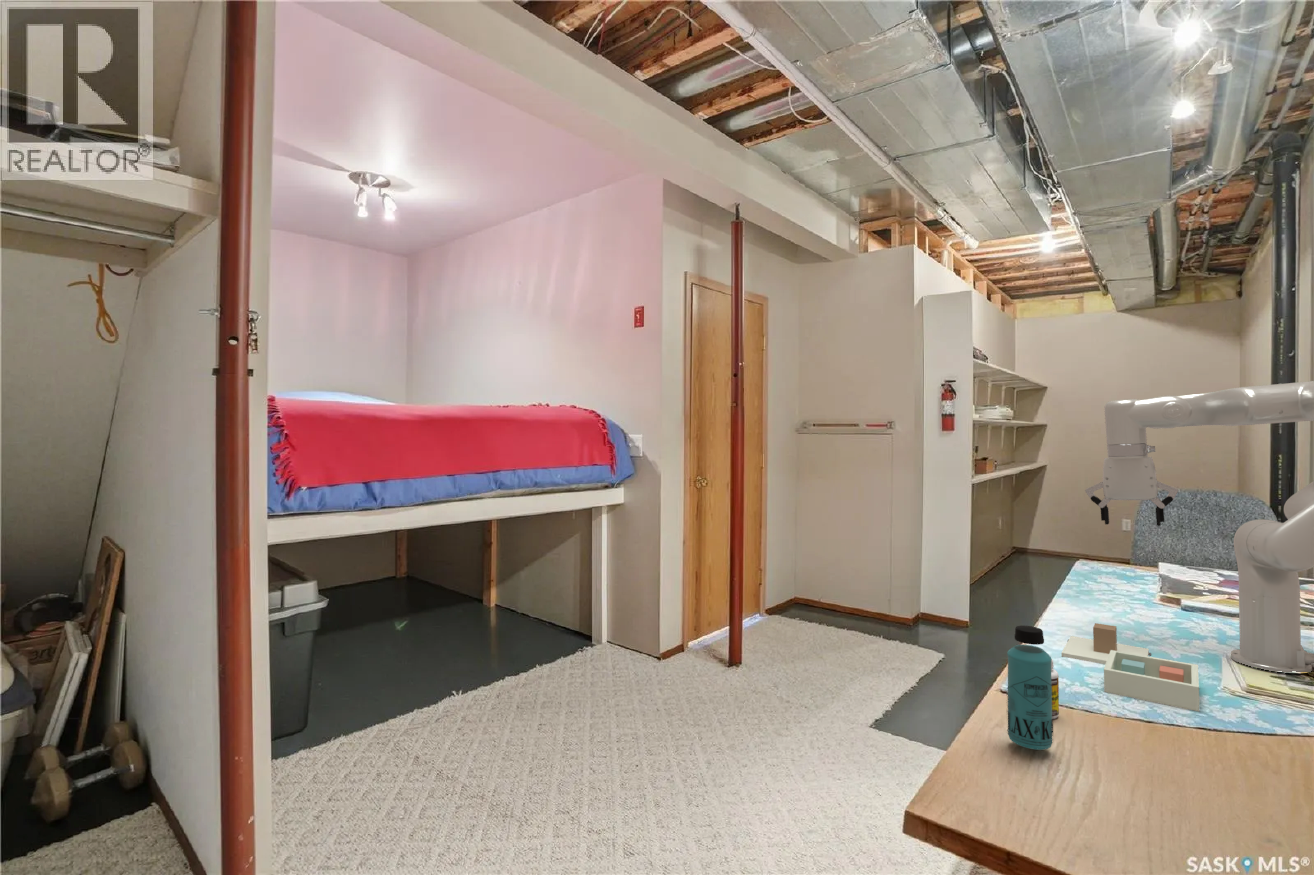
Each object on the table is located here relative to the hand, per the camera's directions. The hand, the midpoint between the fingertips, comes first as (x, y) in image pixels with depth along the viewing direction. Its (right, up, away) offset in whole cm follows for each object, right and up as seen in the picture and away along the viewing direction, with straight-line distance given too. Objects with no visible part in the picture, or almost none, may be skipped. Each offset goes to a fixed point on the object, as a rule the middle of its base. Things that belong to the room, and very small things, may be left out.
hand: (1132, 524), depth 144 cm
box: (-14, -30, -23) cm, 40 cm away
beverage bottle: (-51, -31, -44) cm, 74 cm away
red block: (-10, -29, -23) cm, 38 cm away
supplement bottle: (-41, -31, -31) cm, 60 cm away
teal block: (-14, -29, -19) cm, 38 cm away
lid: (-9, -30, -3) cm, 31 cm away
